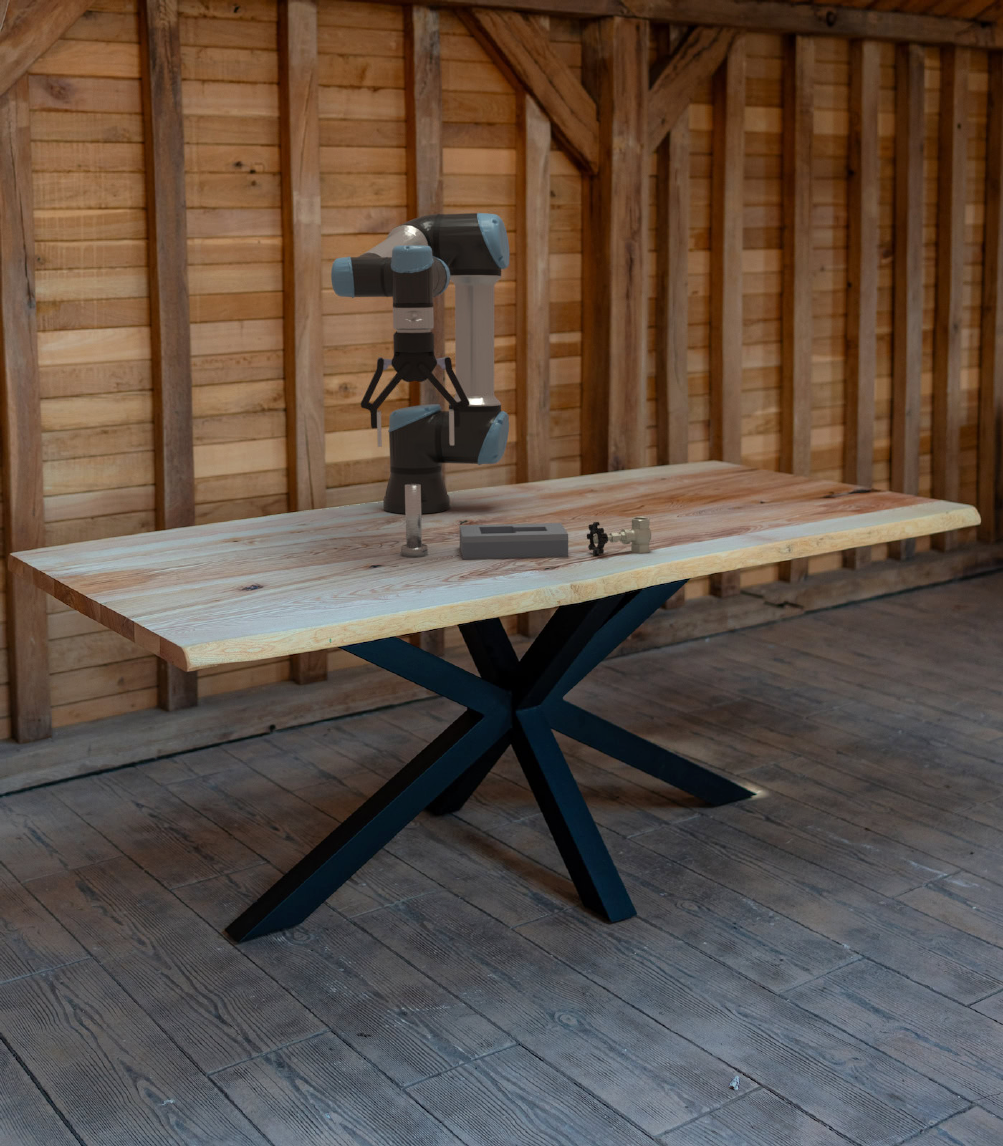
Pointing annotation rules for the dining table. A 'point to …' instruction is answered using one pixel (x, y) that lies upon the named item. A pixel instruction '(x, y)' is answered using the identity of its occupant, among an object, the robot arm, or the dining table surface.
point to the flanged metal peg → (413, 523)
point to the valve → (622, 536)
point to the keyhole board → (513, 541)
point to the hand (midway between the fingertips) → (415, 445)
